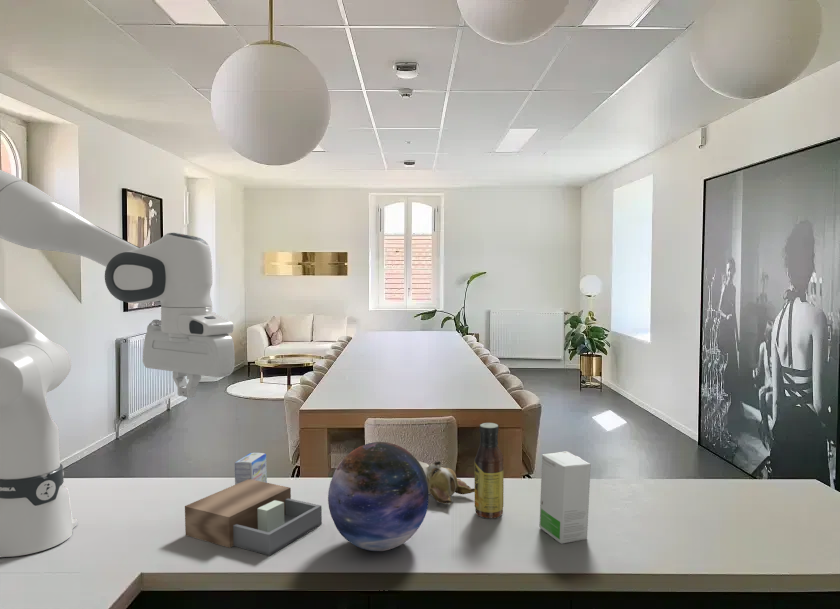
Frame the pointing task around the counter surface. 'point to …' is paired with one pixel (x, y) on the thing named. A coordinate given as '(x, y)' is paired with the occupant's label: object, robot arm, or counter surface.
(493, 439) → the sauce bottle
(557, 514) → the skincare box
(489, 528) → the counter surface
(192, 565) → the counter surface
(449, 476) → the ceramic sculpture
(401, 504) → the decorative sphere
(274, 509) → the tile
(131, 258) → the robot arm
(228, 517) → the wooden drawer casing
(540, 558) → the counter surface
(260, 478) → the medicine box
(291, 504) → the bin
